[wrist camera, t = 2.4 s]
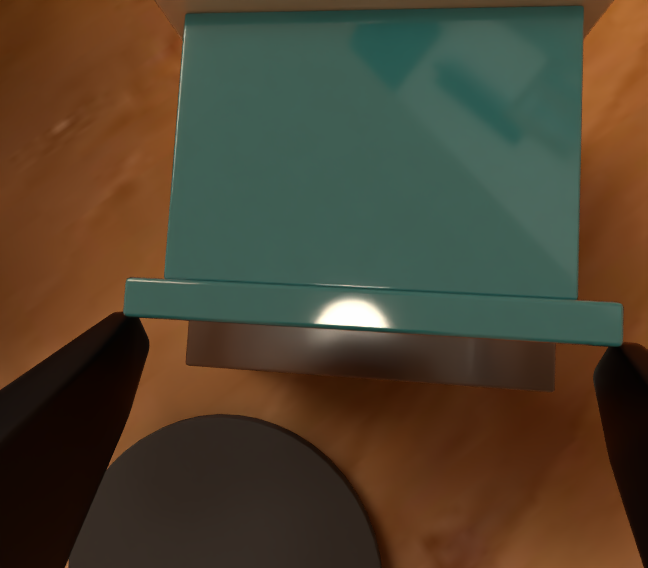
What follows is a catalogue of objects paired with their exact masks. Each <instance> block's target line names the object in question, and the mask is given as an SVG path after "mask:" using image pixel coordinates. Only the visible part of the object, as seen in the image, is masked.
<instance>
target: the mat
mask: <svg viewBox="0 0 648 568" xmlns="http://www.w3.org/2000/svg"><path fill="white" fill-rule="evenodd" d="M69 568H382V566H381V558H380V552H379V548H378V544H377V540H376V536H375V533H374V530H373V527H372V525H371V522H370V520H369V517H368V514H367V512H366V510H365V508H364V506H363V504H362V503H361V501H360V499H359V497H358V495H357V493H356V492H355V490H354V489H353V487H352V486H351V485H350V483H349V482H348V480H347V479H346V477H345V476H344V475H343V474H342V473H341V471H340V470H339V469H338V468H337V467H336V466H335V465H334V464H333V463H332V461H331V460H330V459H329V458H327V457H326V456H325V455H324V454H323V453H322V452H320V451H319V450H318V449H317V448H316V447H315V446H313V445H312V444H310V443H309V442H307V441H306V440H304V439H303V438H301V437H300V436H298V435H297V434H295V433H293V432H291V431H289V430H287V429H284V428H282V427H280V426H278V425H276V424H273V423H270V422H267V421H263V420H260V419H257V418H251V417H246V416H240V415H224V414H216V415H206V416H198V417H194V418H189V419H185V420H181V421H178V422H176V423H173V424H170V425H168V426H165V427H163V428H161V429H159V430H157V431H155V432H154V433H152V434H150V435H148V436H146V437H145V438H143V439H141V440H139V441H138V442H137V443H135V444H134V445H133V446H131V447H130V448H129V449H127V450H126V451H125V452H124V453H123V454H122V455H121V456H119V457H118V458H117V459H116V460H115V461H114V462H113V463H112V464H111V465H110V466H109V468H108V469H107V470H106V472H105V474H104V476H103V479H102V481H101V483H100V486H99V488H98V490H97V493H96V495H95V497H94V500H93V502H92V504H91V507H90V509H89V512H88V514H87V516H86V519H85V521H84V523H83V526H82V528H81V530H80V533H79V535H78V537H77V540H76V542H75V544H74V547H73V549H72V552H71V554H70V556H69Z"/></svg>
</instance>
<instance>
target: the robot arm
mask: <svg viewBox="0 0 648 568" xmlns="http://www.w3.org/2000/svg"><path fill="white" fill-rule="evenodd" d="M148 351H149V339H148V336H147V334H146V332H145V330H144V328H143V325H142V323H141V321H140V319H139V318H137V317H127V316H125V315H124V313H123V312H114V313H112V314H110V315H109V316H107V317H106V318H105V319H103V320H102V321H100V322H99V323H97V324H96V325H94V326H93V327H91V328H90V329H89V330H87V331H86V332H84V333H83V334H81V335H80V336H78V337H77V338H75V339H74V340H72V341H71V342H70V343H68V344H67V345H65V346H64V347H62V348H61V349H59V350H58V351H56V352H55V353H54V354H52V355H51V356H49V357H48V358H46V359H45V360H43V361H42V362H40V363H39V364H37V365H36V366H35V367H33V368H32V369H30V370H29V371H27V372H26V373H24V374H23V375H21V376H20V377H19V378H17V379H16V380H14V381H13V382H11V383H10V384H8V385H7V386H5V387H4V388H2V389H1V390H0V568H65V566H66V563H67V561H68V559H69V556H70V554H71V552H72V549H73V547H74V544H75V542H76V540H77V537H78V535H79V533H80V530H81V528H82V526H83V523H84V521H85V519H86V516H87V514H88V512H89V509H90V507H91V504H92V502H93V500H94V497H95V495H96V493H97V490H98V488H99V486H100V483H101V481H102V479H103V476H104V474H105V472H106V469H107V467H108V465H109V462H110V460H111V457H112V455H113V453H114V450H115V448H116V446H117V443H118V441H119V439H120V436H121V434H122V432H123V429H124V427H125V424H126V422H127V419H128V417H129V414H130V411H131V408H132V404H133V401H134V398H135V394H136V391H137V388H138V385H139V381H140V378H141V375H142V371H143V368H144V365H145V361H146V358H147V355H148ZM593 382H594V387H595V392H596V397H597V402H598V407H599V412H600V417H601V422H602V427H603V432H604V437H605V442H606V447H607V452H608V456H609V460H610V464H611V467H612V470H613V474H614V477H615V480H616V483H617V486H618V489H619V492H620V495H621V498H622V502H623V505H624V508H625V511H626V514H627V517H628V520H629V523H630V526H631V529H632V532H633V536H634V539H635V542H636V545H637V548H638V551H639V554H640V557H641V560H642V563H643V566H644V568H648V350H647V349H646V348H645V347H643V346H642V345H640V344H637V343H628V342H623V344H622V345H621V346H619V347H608V348H607V350H606V352H605V353H604V355H603V357H602V358H601V360H600V361H599V363H598V365H597V366H596V368H595V370H594V375H593Z"/></svg>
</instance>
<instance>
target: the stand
mask: <svg viewBox="0 0 648 568" xmlns="http://www.w3.org/2000/svg"><path fill="white" fill-rule="evenodd" d="M555 360H556V343H540V342H524V341H508V340H492V339H476V338H459V337H443V336H427V335H411V334H395V333H379V332H363V331H347V330H331V329H315V328H298V327H282V326H266V325H250V324H234V323H218V322H202V321H189V326H188V339H187V353H186V365H188V366H202V367H215V368H229V369H242V370H256V371H269V372H283V373H296V374H310V375H323V376H337V377H350V378H364V379H377V380H391V381H404V382H418V383H431V384H445V385H458V386H472V387H485V388H499V389H512V390H526V391H539V392H554V390H555Z"/></svg>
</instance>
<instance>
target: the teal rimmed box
mask: <svg viewBox="0 0 648 568" xmlns="http://www.w3.org/2000/svg"><path fill="white" fill-rule="evenodd" d="M613 1H614V0H155V2H156V3H157V5H158V6H159V7H160V9H161V10H162V12H163V13H164V15H165V16H166V18H167V19H168V20H169V22H170V23H171V25H172V26H173V28H174V29H175V31H176V32H177V34H178V35H179V36H180V38H181V39H182V41H183V46H182V59H181V71H180V84H179V96H178V109H177V121H176V134H175V146H174V159H173V171H172V184H171V196H170V209H169V221H168V233H167V246H166V258H165V271H164V278H165V279H160V278H141V277H130V278H128V279H127V280H126V284H125V296H124V308H123V313H124V315H125V316H127V317H137V318H154V319H170V320H186V321H202V322H218V323H234V324H250V325H266V326H282V327H298V328H315V329H331V330H347V331H363V332H379V333H395V334H411V335H427V336H443V337H459V338H476V339H492V340H508V341H524V342H540V343H556V344H572V345H588V346H604V347H619V346H621V345H622V344H623V314H624V307H623V305H622V304H621V303H618V302H609V301H590V300H577V298H578V269H579V222H580V175H581V128H582V81H583V40H584V39H585V37H586V36H587V35H588V33H589V32H590V31H591V30H592V28H593V27H594V26H595V24H596V23H597V22H598V21H599V19H600V18H601V17H602V15H603V14H604V13H605V12H606V10H607V9H608V8H609V6H610V5H611V4H612V3H613Z"/></svg>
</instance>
